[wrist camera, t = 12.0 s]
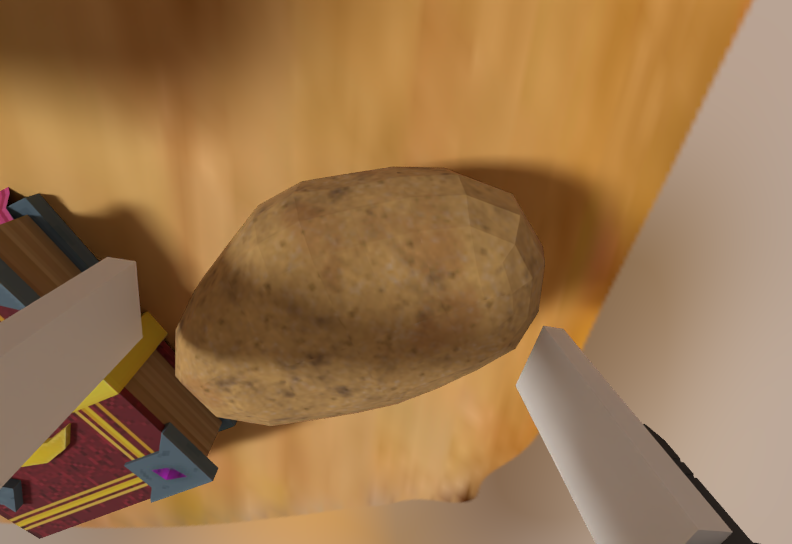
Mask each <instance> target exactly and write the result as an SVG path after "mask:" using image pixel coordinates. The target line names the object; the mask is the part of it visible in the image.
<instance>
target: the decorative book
mask: <svg viewBox="0 0 792 544" xmlns="http://www.w3.org/2000/svg"><path fill="white" fill-rule="evenodd" d="M9 194H10V193H9V187H8V188H6V189H4V190H2V191H0V322H2V321H3V320H5V319H7V318H8V317H10V316H12V315H13V314H15V313H17V312H18V311H20V310H21V309H23V308H25V307H26V306H28V305H30V304H31V303H33V302H34V301H36V300H38V299H39V298H41V297H43V296H44V295H46V294H48V293H49V292H51V291H52V290H54V289H56V288H57V287H59V286H61V285H62V284H64V283H66V282H67V281H69V280H70V279H72V278H74V277H75V276H77V275H79V274H80V273H82V272H83V271H85V270H87V269H88V268H90V267H92V266H93V265H95V264H97V263H98V262H99V261H98V260H97V259H96V257H95V256H94V255H93V254H92V253H91V252H90V251H89V250H88V248H87V247H86V246H85V245H84V244H83V243H82V242H81V240H80V239H79V238H78V237H77V236H76V235H75V234H74V233H73V231H72V230H71V229H70V228H69V227H68V226H67V225H66V223H65V222H64V221H63V220H62V219H61V218H60V217H59V216H58V214H57V213H56V212H55V211H54V210H53V209H52V208H51V206H50V205H49V204H48V203H47V202H46V201H45V200H44V199H43V197H42V196H41V195H40V194H35V195H32V196H29V197H25V198H23V199H21V200H19V201H17V202H15V203H13V204H11V205H9V206H7V202H8V198H9ZM6 206H7V207H6ZM141 324H142V335H143V338H142V339H141V340H140V341H139V342H138V343H137V344H136V345H135V346H134V347H133V348H132V349H131V350H130V351H129V352H128V354H127V355H126V356H125V357H124V358H123V359H122V360H121V361H120V362H119V363H118V364H117V365H116V366H115V367H114V368H113V370H112V371H111V372H110V373H109V374H108V375H107V376H106V377H105V378H104V379H103V380H102V381H101V382H100V383H99V384H98V385H97V387H96V388H95V389H94V390H93V391H92V392H91V393H90V394H89V395H88V396H87V397H86V398H85V399H84V400H83V401H82V402H81V404H80V405H79V406H78V407H77V408H76V409H75V410H74V411H73V412H72V413H71V414H70V415H69V416H68V417H67V418H66V419H65V421H64V422H63V423H62V424H61V425H60V426H59V427H58V428H57V429H56V430H55V431H54V432H53V433H52V434H51V435H50V436H49V438H48V439H47V440H46V441H45V442H44V443H43V444H42V445H41V446H40V447H39V448H38V449H37V450H36V451H35V452H34V453H33V455H32V456H31V457H30V458H29V459H28V460H27V461H26V462H25V463H24V464H23V465H22V466H21V467H20V468H19V469H18V470H17V472H16V473H15V474H14V475H13V476H12V477H11V478H10V479H9V480H8V481H7V482H6V483H5V484H4V485H3V486H2V488H1V489H0V515H1V516H3V517H5V518H6V519H8V520H10V521H11V522H13V523H15V524H16V525H18V526H20V527H21V528H23V529H24V530H26V531H28V532H30V533H31V534H33V535H34V536H36V537H38V538H39V539H40V538H43V537H46V536H48V535H51V534H54V533H56V532H59V531H62V530H65V529H67V528H70V527H73V526H76V525H78V524H81V523H84V522H87V521H89V520H92V519H95V518H98V517H100V516H103V515H106V514H109V513H111V512H114V511H117V510H120V509H122V508H125V507H128V506H131V505H133V504H136V503H139V502H142V501H144V500H147V499H150V498H151V503H152V502H154V501H157V500H160V499H163V498H166V497H169V496H172V495H174V494H177V493H180V492H183V491H186V490H189V489H192V488H194V487H197V486H200V485H203V484H206V483H209V482H211V481H213V480H214V477H215V475H216V472H217V470H218V467H217V466H216V465H215V464H214V463H212V462H211V461H210V460H209V459H208V458H207V456H208V453H209V451H210V449H211V446H212V444H213V442H214V440H215V437H216V435H217V433H218V432H219V431H222V430H225V429H227V428H230V427H233V426H235V424H236V422H237V420H232V419H226V418H220V417H216V416H215V415H214V414H213V413H212V412H211V411H210V410H209V409H208V408H207V407H206V406H205V405H204V404H202V403H201V402H200V401H199V400H198V399H197V398H196V397H195V396H194V395H193V394H192V393H191V392H190V391H189V390H188V389H187V388H186V387H185V386H184V385H183V384H182V383H181V382H180V381H179V380H178V378H177V377H176V376H175V352H174V351H173V350H172V349H171V348H170V347H169V346H168V345H167V343H166V342H165V341H164V338H165V337H166V336H167V335H168V333H167V332H166V331H165V330H164V329H163V328H162V327H161V325H160V324H159V323H158V322H157V321H156V320H155V319H154V318H153V316H152V315H151V314H150V313H149V312H148V311H147V312H145V313H142V314H141Z"/></svg>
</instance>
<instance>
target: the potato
mask: <svg viewBox="0 0 792 544" xmlns="http://www.w3.org/2000/svg"><path fill="white" fill-rule="evenodd" d="M544 267H545V259H544V252H543V246H542V244H541V242H540V241H539V239H538V237H537V235H536V234H535V232H534V230H533V228H532V227H531V225H530V223H529V221H528V220H527V218H526V216H525V214H524V213H523V211H522V209H521V207H520V206H519V204H518V202H517V200H516V199H515V197H514V195H513V194H511V193H509V192H506V191H503V190H501V189H498V188H496V187H493V186H490V185H488V184H485V183H482V182H480V181H477V180H475V179H472V178H469V177H467V176H464V175H461V174H459V173H456V172H454V171H451V170H448V169H446V168H424V167H388V168H382V169H375V170H369V171H363V172H356V173H350V174H343V175H337V176H331V177H325V178H319V179H313V180H307V181H302V182H300V183H298V184H296V185H294V186H293V187H291V188H289V189H287V190H285V191H283V192H282V193H280V194H278V195H276V196H274V197H273V198H271V199H269V200H267V201H265V202H263V203H262V204H260V205H258V206H257V208H256V209H255V210H254V211H253V213H252V214H251V215H250V217H249V218H248V219H247V221H246V222H245V223H244V224H243V226H242V227H241V228H240V230H239V231H238V232H237V233H236V235H235V236H234V237H233V239H232V240H231V241H230V243H229V244H228V245H227V246H226V248H225V249H224V250H223V252H222V253H221V254H220V256H219V257H218V258H217V260H216V261H215V262H214V264H213V265H212V266H211V268H210V269H209V270H208V272H207V273H206V274H205V275H204V277H203V278H202V280H201V281H200V283H199V284H198V286H197V288H196V289H195V291H194V293H193V295H192V297H191V299H190V301H189V303H188V305H187V307H186V310H185V312H184V314H183V316H182V318H181V320H180V322H179V324H178V326H177V328H176V335H175V376H176V377H177V378H178V380H179V381H180V382H181V383H182V384H183V385H184V386H185V387H186V388H187V389H188V390H189V391H190V392H191V393H192V394H193V395H194V396H195V397H196V398H197V399H198V400H199V401H200V402H201V403H202V404H204V405H205V406H206V407H207V408H208V409H209V410H210V411H211V412H212V413H213V414H214V415H215V416H216V417H220V418H226V419H232V420H238V421H244V422H249V423H255V424H261V425H267V426H275V425H282V424H289V423H296V422H303V421H310V420H317V419H323V418H329V417H335V416H341V415H347V414H353V413H359V412H363V411H368V410H372V409H376V408H381V407H385V406H390V405H394V404H398V403H401V402H403V401H406V400H408V399H411V398H414V397H416V396H419V395H421V394H424V393H427V392H429V391H432V390H434V389H437V388H439V387H442V386H444V385H446V384H448V383H450V382H452V381H454V380H456V379H459V378H461V377H463V376H465V375H467V374H469V373H471V372H473V371H476V370H478V369H479V368H481V367H483V366H485V365H487V364H488V363H490V362H492V361H494V360H495V359H497V358H499V357H501V356H503V355H504V354H506V353H508V352H510V351H511V350H513V349H515V348H516V346H517V345H518V343H519V342H520V340H521V339H522V337H523V335H524V334H525V332H526V331H527V329H528V328H529V326H530V324H531V323H532V321H533V320H534V318H535V316H536V315H537V313H538V311H539V304H540V296H541V289H542V282H543V274H544Z"/></svg>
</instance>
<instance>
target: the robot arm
mask: <svg viewBox="0 0 792 544" xmlns="http://www.w3.org/2000/svg"><path fill="white" fill-rule="evenodd" d="M142 338H143V335H142V324H141V312H140V301H139V290H138V278H137V267H136V261H131V260H125V259H118V258H112V257H106V258H105V259H103V260H101V261H100V262H98V263H97V264H95V265H93V266H92V267H90V268H88V269H87V270H85V271H83V272H82V273H80V274H79V275H77V276H75V277H74V278H72V279H70V280H69V281H67V282H66V283H64V284H62V285H61V286H59V287H57V288H56V289H54V290H52V291H51V292H49V293H48V294H46V295H44V296H43V297H41V298H39V299H38V300H36V301H34V302H33V303H31V304H30V305H28V306H26V307H25V308H23V309H21V310H20V311H18V312H17V313H15V314H13V315H12V316H10V317H8V318H7V319H5V320H3V321H2V322H0V489H1V488H2V486H3V485H4V484H5V483H6V482H7V481H8V480H9V479H10V478H11V477H12V476H13V475H14V474H15V473H16V472H17V470H18V469H19V468H20V467H21V466H22V465H23V464H24V463H25V462H26V461H27V460H28V459H29V458H30V457H31V456H32V455H33V453H34V452H35V451H36V450H37V449H38V448H39V447H40V446H41V445H42V444H43V443H44V442H45V441H46V440H47V439H48V438H49V436H50V435H51V434H52V433H53V432H54V431H55V430H56V429H57V428H58V427H59V426H60V425H61V424H62V423H63V422H64V421H65V419H66V418H67V417H68V416H69V415H70V414H71V413H72V412H73V411H74V410H75V409H76V408H77V407H78V406H79V405H80V404H81V402H82V401H83V400H84V399H85V398H86V397H87V396H88V395H89V394H90V393H91V392H92V391H93V390H94V389H95V388H96V387H97V385H98V384H99V383H100V382H101V381H102V380H103V379H104V378H105V377H106V376H107V375H108V374H109V373H110V372H111V371H112V370H113V368H114V367H115V366H116V365H117V364H118V363H119V362H120V361H121V360H122V359H123V358H124V357H125V356H126V355H127V354H128V352H129V351H130V350H131V349H132V348H133V347H134V346H135V345H136V344H137V343H138V342H139V341H140V340H141V339H142ZM516 387H517V389H518V391H519V393H520V395H521V397H522V399H523V401H524V403H525V405H526V407H527V409H528V411H529V413H530V415H531V417H532V419H533V421H534V423H535V425H536V427H537V429H538V431H539V433H540V435H541V437H542V439H543V441H544V442H545V445H546V447H547V449H548V451H549V452H550V454H551V456H552V458H553V460H554V462H555V464H556V466H557V468H558V470H559V472H560V474H561V476H562V478H563V480H564V482H565V484H566V486H567V488H568V490H569V492H570V494H571V496H572V498H573V500H574V502H575V504H576V506H577V508H578V510H579V512H580V514H581V516H582V518H583V520H584V522H585V524H586V526H587V528H588V530H589V532H590V533H591V535H592V537H593V539H594V541H595V543H596V544H758V543H753V542H752V541H751V540H750V539H749V538H748V537H747V536H746V535H745V533H744V532H743V531H742V530H741V529H740V527H739V526H738V525H737V524H736V523H735V522H734V521H733V519H732V518H731V517H730V516H729V515H728V514H727V512H725V510H724V509H723V508H722V507H721V505H720V504H719V503H718V502H717V501H716V500H715V499H714V497H713V496H712V495H711V494H710V493H709V491H708V490H707V489H706V488H705V487H704V486H703V484H702V483H701V482H700V481H699V480H698V479H697V478H694V476H693V473H692V472H691V470H690V469H689V468H688V467H687V466H686V465H685V463H683V462H681V461H680V458H679V457H678V455H677V454H676V453H675V452H674V451H673V449H672V448H671V447H670V446H669V445H668V444H667V443H666V441H665V440H664V439H662V438H661V437H660V436H659V435H658V434H656V433H655V432H654V431H653V430H651V429H650V428H649V427H648V426H647V425H645V424H642V423H641V422H640V420H639V419H638V418H637V417H636V416H635V414H634V413H633V412H632V411H631V410H630V409H629V407H628V406H627V405H626V404H625V403H624V401H623V400H622V399H621V398H620V396H619V395H618V394H617V393H616V392H615V390H613V388H612V387H611V386H610V385H609V383H608V382H607V381H606V380H605V378H604V377H603V376H602V375H601V374H600V372H599V371H598V370H597V369H596V368H595V366H594V365H593V364H592V363H591V362H590V360H589V359H588V358H587V357H586V356H585V354H584V353H583V352H582V351H581V350H580V348H579V347H578V346H577V345H576V344H575V342H574V341H573V340H572V339H571V338H570V336H569V335H568V334H567V333H566V332H565V330H564V329H560V328H554V327H547V326H543V328H542V330H541V332H540V334H539V336H538V339H537V341H536V343H535V345H534V347H533V349H532V352H531V354H530V356H529V358H528V360H527V362H526V364H525V367H524V369H523V371H522V373H521V375H520V377H519V379H518V382H517V384H516Z"/></svg>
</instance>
